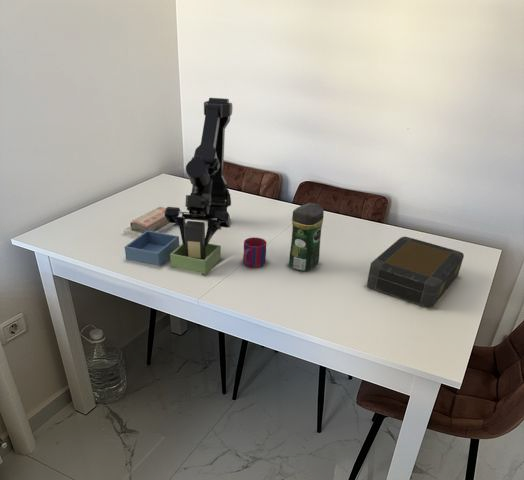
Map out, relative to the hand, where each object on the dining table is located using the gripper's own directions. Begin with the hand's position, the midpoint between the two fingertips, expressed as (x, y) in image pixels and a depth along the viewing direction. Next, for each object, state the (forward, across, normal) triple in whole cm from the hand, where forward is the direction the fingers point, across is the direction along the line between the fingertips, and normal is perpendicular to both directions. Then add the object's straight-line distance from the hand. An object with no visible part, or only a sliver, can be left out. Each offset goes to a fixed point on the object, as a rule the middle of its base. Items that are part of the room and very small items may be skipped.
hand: (194, 244), depth 144 cm
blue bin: (+2, -14, +8) cm, 16 cm away
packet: (+3, 0, +5) cm, 6 cm away
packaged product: (-12, -20, +22) cm, 32 cm away
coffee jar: (0, +32, +10) cm, 33 cm away
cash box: (+3, +64, +7) cm, 65 cm away
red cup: (+2, +16, +8) cm, 18 cm away
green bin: (+4, 0, +6) cm, 7 cm away
